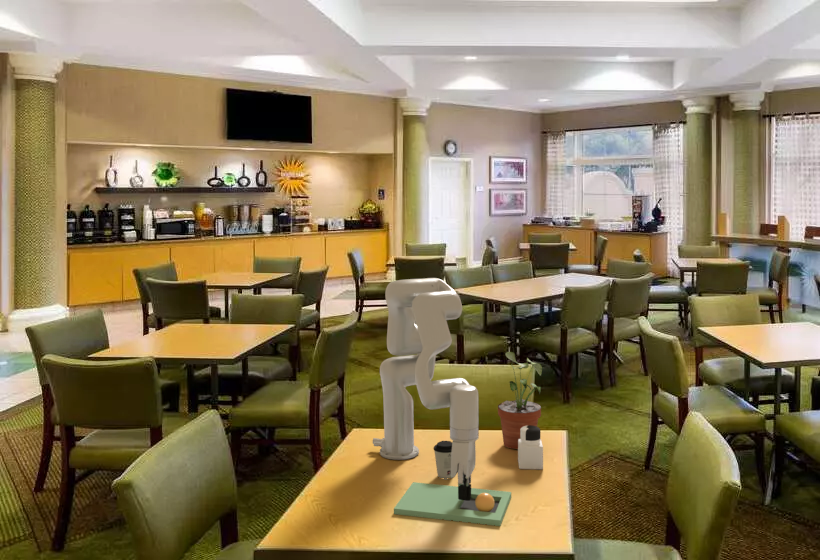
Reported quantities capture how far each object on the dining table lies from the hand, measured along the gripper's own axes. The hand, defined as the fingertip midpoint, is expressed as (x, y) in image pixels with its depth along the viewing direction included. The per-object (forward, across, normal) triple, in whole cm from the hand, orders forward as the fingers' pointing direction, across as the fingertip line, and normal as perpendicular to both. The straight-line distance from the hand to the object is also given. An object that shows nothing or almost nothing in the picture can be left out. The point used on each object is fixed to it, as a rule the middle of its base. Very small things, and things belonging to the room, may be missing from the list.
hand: (464, 498), depth 192 cm
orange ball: (-1, +3, +6) cm, 6 cm away
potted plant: (+2, -51, +8) cm, 52 cm away
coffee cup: (+2, -19, -10) cm, 21 cm away
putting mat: (+2, 0, -3) cm, 4 cm away
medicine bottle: (+2, -34, +13) cm, 36 cm away
